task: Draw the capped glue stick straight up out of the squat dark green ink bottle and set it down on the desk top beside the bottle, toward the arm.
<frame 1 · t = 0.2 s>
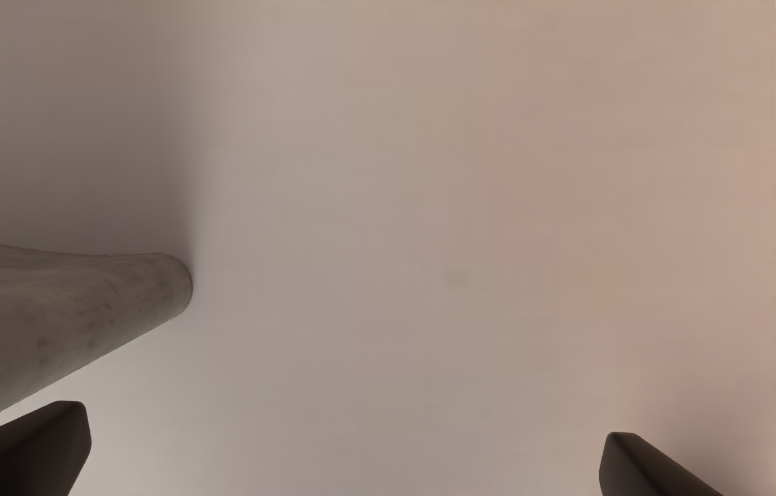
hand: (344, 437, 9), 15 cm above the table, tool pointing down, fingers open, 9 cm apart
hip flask: (27, 276, 25), on the table
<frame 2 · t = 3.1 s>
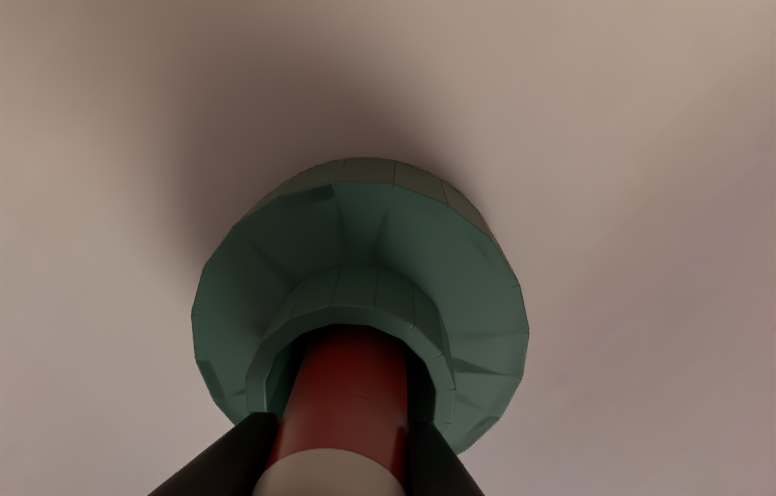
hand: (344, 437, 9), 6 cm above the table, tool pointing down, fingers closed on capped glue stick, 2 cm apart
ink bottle: (367, 292, 15), on the table
capped glue stick: (366, 298, 14), resting on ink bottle, touching gripper
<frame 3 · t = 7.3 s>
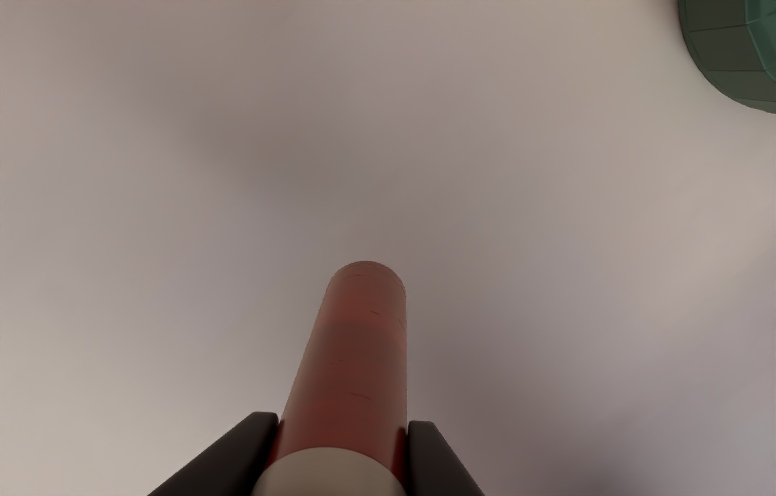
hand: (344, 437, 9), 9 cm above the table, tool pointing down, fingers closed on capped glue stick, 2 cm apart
capped glue stick: (366, 297, 14), point 3 cm above the table, touching gripper
when the fingers open (6 cm above the table, at t = 8.4 s): capped glue stick stays where it is, on the table.
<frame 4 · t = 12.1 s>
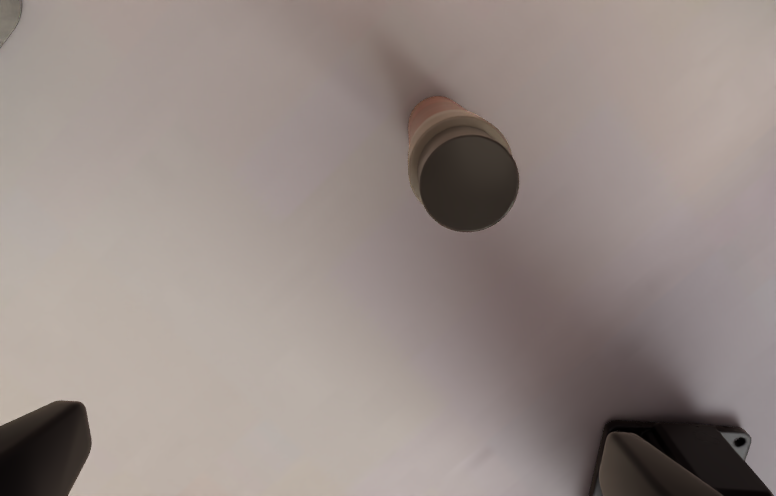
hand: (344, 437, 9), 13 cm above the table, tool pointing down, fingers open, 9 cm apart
capped glue stick: (436, 125, 20), on the table
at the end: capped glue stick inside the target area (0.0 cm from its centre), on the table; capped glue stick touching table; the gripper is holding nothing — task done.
